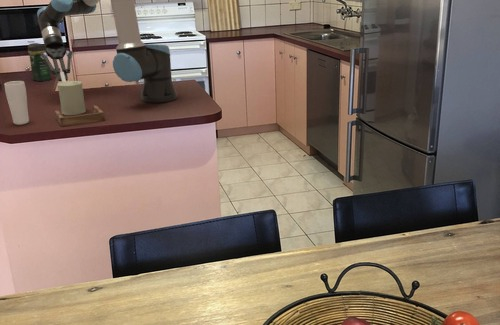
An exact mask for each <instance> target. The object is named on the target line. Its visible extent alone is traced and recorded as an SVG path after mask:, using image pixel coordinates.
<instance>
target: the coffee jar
mask: <svg viewBox="0 0 500 325" xmlns="http://www.w3.org/2000/svg"><path fill="white" fill-rule="evenodd" d="M45 50H46V49H45V45H44V43H38V42H33V43H29V44H28V45H27V52H28V56H29V62H30V69H31V76H32V80H34V81H37V82H46V81H49V80H52V76H51V75H52V74H51V72H50V70H49V68H48V67H47V65H46V63H45V62H44V60H42V59H41V53H45ZM47 58H48V59H49V56H47Z"/></svg>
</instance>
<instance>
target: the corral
mask: <svg viewBox="0 0 500 325" xmlns="http://www.w3.org/2000/svg"><path fill="white" fill-rule="evenodd" d="M92 110H93V112H92V113H87V114H86V113H85V114H84V113H83V114H78V115H69V116H64V115H63V114H62V113H61V112H60V110H59V109H56V110H54V117H55V119H56V121H57V122H58V124H59V125H60V127H61V128H62V127H69V126H70V127H71V126H75V125H83V124H84V125H85V124H90V123H97V122H103V121H106V120H105V119H106V118H105V113H104V111H103V110H102V109H100V107H98V105H96V104H95V105H92Z"/></svg>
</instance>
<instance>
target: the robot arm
mask: <svg viewBox="0 0 500 325" xmlns="http://www.w3.org/2000/svg"><path fill="white" fill-rule="evenodd" d="M100 1H101V0H50V2H49V4H48V5H47V6H42V7H41V8H39V9H38V10H37V12H36V15H37V22H38V25H39V28H40V34H41V37H42V40H43V44H44V45H45V49H46V50H45V53H41V59H42V60H44V62H45V63H46V65H47V67H48V68H49V70H50V74H51V75H53V76H54V75H56V77H57V81H58V82H60V83H61V82H67V81H69V77H68V74H70V73H71V61H72V60H71V59H72V57H73V51H72V50H70V51H69V50H67V48H65V45H64V41H63V37H62V33H61V29H60V26H59V25H60V23H61V22H62V21H63V19H64V18H65V17H68V16H69V17H70V16H76V15H77V16H78V15H89V14H92V13H94V12H96V9H97V4H98V3H99V2H100ZM110 5H111V10H112V15H113V19H114V26H115V30H116V36H117V40H118V44H117V46H116V47H115V50H116V55H115V56H114V57H113V60H112V68H113V71H114V73H115V74H116V75H117V77H118V78H120V80H122V81H124V82H125V83H134V82H138V81H141V80H143V85H142V90H141V93H140V99H141V101H142V102H143V103H149V104H150V103H151V104H152V103H154V104H155V103H156V104H158V103H159V104H160V103H167V102H169V103H170V102H172V101H175V100H177V98H178V94H177V90H176V87H175V85H174V83H173V79H172V66H171V65H172V64H171V52H170V51H171V50H170V47H169V46H168V45H166V44H156V43H155V44H153V43H152V44H150V43H145V42H143V40H142V39H141V33H140V28H139V22H138V16H137V12H136V11H137V10H136V6H135V0H110ZM65 56H66V57H67V65H66V64H65V60H64V57H65ZM47 57H48V58H47ZM50 59H52V62H53V65H52V63H51V61H50ZM58 60H59V63H60V68H61V71H60V68H59V63H58Z"/></svg>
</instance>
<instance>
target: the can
mask: <svg viewBox="0 0 500 325" xmlns="http://www.w3.org/2000/svg"><path fill="white" fill-rule="evenodd" d="M57 89H58V95H59V102H60V108H61V109H60V110H61V112H60V114H61V115H63V114H64V115H63V116H77V115H83V114H84V113H85V114H86V112H87V110H86V105H85V98H84V89H83V82H82V81H79V80H68V81H66V82H61V81H60V82H59V83H57Z"/></svg>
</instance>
